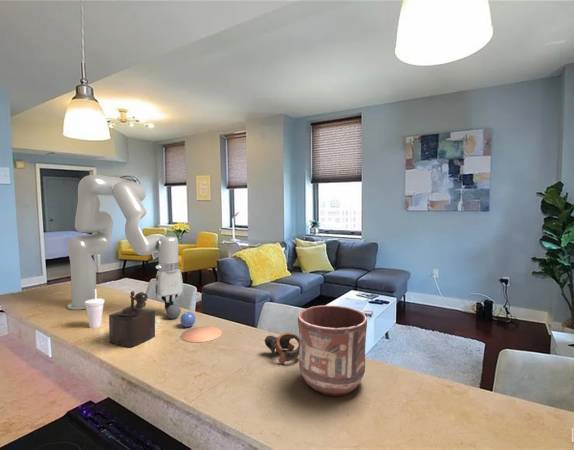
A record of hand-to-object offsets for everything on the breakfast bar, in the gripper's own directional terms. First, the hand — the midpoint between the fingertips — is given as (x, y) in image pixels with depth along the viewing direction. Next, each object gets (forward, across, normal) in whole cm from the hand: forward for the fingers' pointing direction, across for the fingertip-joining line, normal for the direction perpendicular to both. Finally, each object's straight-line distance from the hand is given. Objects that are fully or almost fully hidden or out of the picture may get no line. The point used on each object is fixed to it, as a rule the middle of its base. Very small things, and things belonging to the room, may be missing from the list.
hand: (169, 310), depth 134 cm
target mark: (+2, -1, -26) cm, 27 cm away
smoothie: (+2, -25, +8) cm, 26 cm away
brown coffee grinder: (+2, -19, -17) cm, 25 cm away
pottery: (+2, +7, -78) cm, 78 cm away
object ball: (-1, 0, -16) cm, 17 cm away
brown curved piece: (+2, +8, -58) cm, 59 cm away
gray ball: (-1, 0, -4) cm, 4 cm away
